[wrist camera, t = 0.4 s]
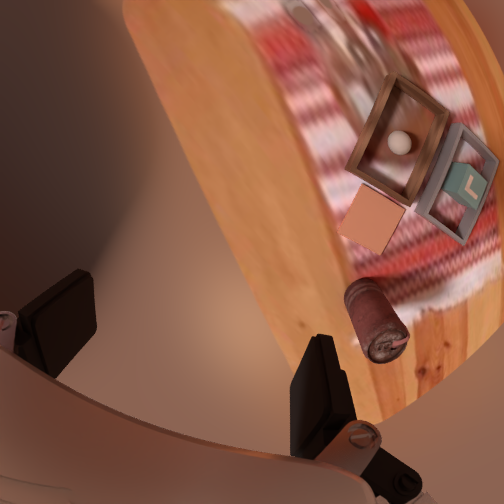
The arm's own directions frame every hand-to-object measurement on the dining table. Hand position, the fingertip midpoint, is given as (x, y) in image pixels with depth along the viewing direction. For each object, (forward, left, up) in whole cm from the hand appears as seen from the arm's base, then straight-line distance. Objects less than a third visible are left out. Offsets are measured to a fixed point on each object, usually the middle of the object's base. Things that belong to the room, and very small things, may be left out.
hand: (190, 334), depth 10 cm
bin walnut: (-18, +14, -30) cm, 38 cm away
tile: (-5, +16, -30) cm, 35 cm away
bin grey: (-18, +27, -30) cm, 45 cm away
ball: (-17, +14, -30) cm, 38 cm away
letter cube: (-18, +27, -30) cm, 45 cm away
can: (+6, +21, -30) cm, 38 cm away
